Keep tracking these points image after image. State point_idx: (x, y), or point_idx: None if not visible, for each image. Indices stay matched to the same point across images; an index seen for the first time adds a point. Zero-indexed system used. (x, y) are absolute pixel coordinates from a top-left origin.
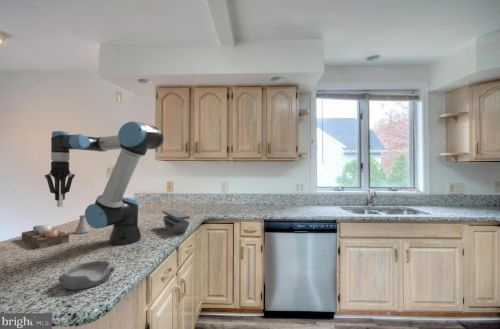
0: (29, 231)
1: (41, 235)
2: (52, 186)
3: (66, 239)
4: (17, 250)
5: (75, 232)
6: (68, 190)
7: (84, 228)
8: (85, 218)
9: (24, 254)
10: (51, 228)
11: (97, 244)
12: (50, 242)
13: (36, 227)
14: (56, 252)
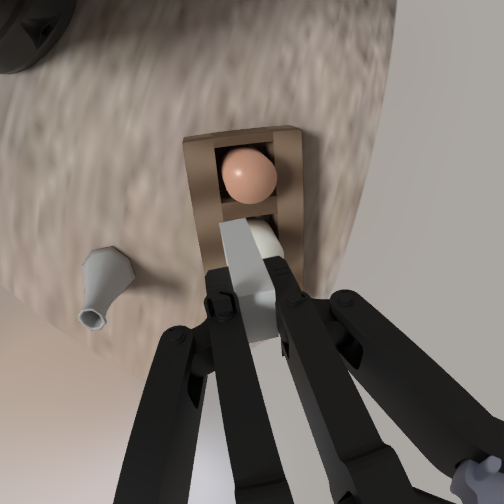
0: None
1: (274, 210)
2: (400, 348)
3: (193, 138)
4: (341, 161)
5: (132, 272)
6: (169, 345)
7: (98, 264)
8: (84, 306)
9: (341, 89)
10: None
11: (112, 18)
12: (257, 129)
13: None
14: (263, 22)
